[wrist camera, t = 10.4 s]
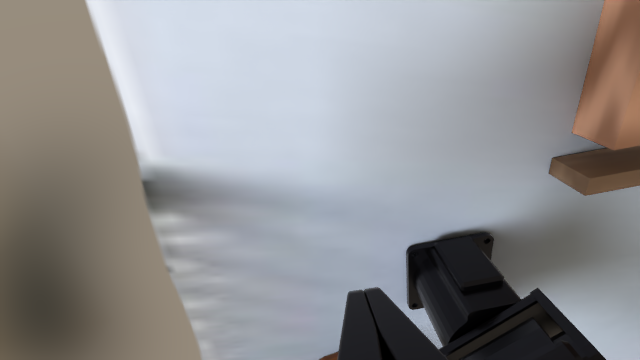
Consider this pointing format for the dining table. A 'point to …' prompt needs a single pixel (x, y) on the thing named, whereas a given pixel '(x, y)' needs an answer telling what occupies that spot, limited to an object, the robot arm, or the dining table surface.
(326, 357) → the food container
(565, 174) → the walnut bay
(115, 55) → the dining table surface
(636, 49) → the terracotta T block
